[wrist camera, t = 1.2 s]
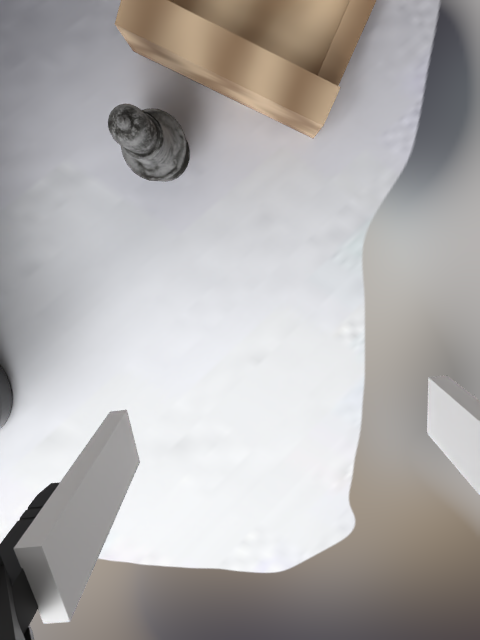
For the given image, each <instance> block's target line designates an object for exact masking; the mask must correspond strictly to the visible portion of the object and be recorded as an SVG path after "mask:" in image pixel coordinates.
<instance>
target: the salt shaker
mask: <svg viewBox="0 0 480 640" xmlns="http://www.w3.org/2000/svg"><path fill="white" fill-rule="evenodd" d="M108 127H109V131H110V133H111V135H112V137H113V139H114V140H115V141H116V142H117V143H118V144H120V145H121V149H122V153H123V157H124V159H125V161H126V163H127V165H128V166H129V167H130V168H131V170H132V171H133V172H134V173H136V174H137V175H139V176H140V177H142V178H144V179H147V180H151V181H165V182H166V181H171V180H174V179H176V178H178V177H179V176H180V175H181V174H182V173H183V172H184V171H185V169H186V167H187V165H188V161H189V147H188V143H187V141H186V139H185V135H184V133H183V130H182V128H181V126H180V125H179V123H178V122H177V121H176V120H175V119H174V118H173V117H172V116H171V115H169V114H168V113H167V112H164V111H162V110H159V109H145V110H140V109H139V108H138V107H136V106H134V105H131V104H122V105H119V106H117V107H115V108H114V109H113V110H112V111H111V113H110V115H109V119H108Z"/></svg>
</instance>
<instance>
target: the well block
mask: <svg viewBox="0 0 480 640" xmlns="http://www.w3.org/2000/svg"><path fill="white" fill-rule="evenodd" d="M375 2H376V0H121V3H120V6H119V10H118V14H117V18H116V21H115V25H116V27H117V28H118V29H119V31H120V32H121V34H122V35H123V37H124V38H125V40H126V41H127V43H128V44H129V45H130V47H131V48H132V50H133V51H134V52H136V53H138V54H140V55H142V56H144V57H146V58H148V59H150V60H152V61H154V62H157V63H159V64H161V65H163V66H165V67H167V68H169V69H171V70H173V71H175V72H177V73H179V74H181V75H183V76H185V77H188V78H190V79H192V80H194V81H196V82H198V83H200V84H202V85H204V86H206V87H208V88H210V89H212V90H214V91H216V92H218V93H221V94H223V95H225V96H227V97H229V98H231V99H233V100H235V101H237V102H239V103H241V104H243V105H245V106H247V107H249V108H251V109H254V110H256V111H258V112H260V113H262V114H264V115H266V116H268V117H270V118H272V119H274V120H276V121H278V122H280V123H282V124H284V125H287V126H289V127H291V128H293V129H295V130H297V131H299V132H301V133H303V134H305V135H307V136H309V137H311V138H314V137H315V136H316V134H317V133H318V132H319V131H320V129H321V128H322V127H323V125H324V123H325V121H326V119H327V116H328V114H329V112H330V110H331V107H332V105H333V103H334V101H335V99H336V96H337V94H338V92H339V90H340V87H339V86H338V85H339V83H340V81H341V78H342V76H343V74H344V72H345V69H346V67H347V65H348V63H349V60H350V58H351V56H352V54H353V51H354V49H355V47H356V45H357V43H358V40H359V38H360V36H361V34H362V31H363V29H364V27H365V25H366V22H367V20H368V18H369V16H370V13H371V11H372V9H373V7H374V5H375Z"/></svg>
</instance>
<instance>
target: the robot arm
mask: <svg viewBox="0 0 480 640" xmlns="http://www.w3.org/2000/svg"><path fill="white" fill-rule="evenodd" d="M11 407H12V392H11V387H10V384H9V381H8V378H7V376H6V374H5V372H4V370H3V369H2V367H1V366H0V429H1V428H2V427H3V425H4V424H5V423H6V421H7V419H8V417H9V415H10V412H11ZM427 419H428V420H427V434H428V435H429V436H430V437H431V438H432V440H433V441H434V442H435V443H436V444H437V445H438V447H439V448H440V449H441V450H442V451H443V453H444V454H445V455H446V456H447V457H448V458H449V460H450V461H451V462H452V463H453V464H454V466H455V467H456V468H457V469H458V470H459V471H460V472H461V474H462V475H463V476H464V477H465V479H466V480H467V481H468V482H469V483H470V485H471V486H472V487H473V488H474V489H475V490H476V492H477V493H478V494H479V495H480V401H479V400H478V399H477V398H476V397H474V396H473V395H472V394H470V393H469V392H468V391H466V390H465V389H464V388H462V387H461V386H460V385H459V384H458V383H456V382H455V381H454V380H452V379H451V378H450V377H448V376H447V375H445V376H436V377H429V378H428V418H427ZM139 463H140V461H139V457H138V453H137V449H136V444H135V440H134V436H133V432H132V428H131V424H130V420H129V416H128V412H127V410H121V411H112V412H110V413H109V414H108V415H107V417H106V418H105V420H104V421H103V422H102V424H101V425H100V427H99V428H98V430H97V431H96V432H95V434H94V435H93V437H92V438H91V439H90V441H89V442H88V444H87V445H86V447H85V448H84V449H83V451H82V452H81V454H80V455H79V456H78V458H77V459H76V461H75V462H74V464H73V465H72V466H71V468H70V469H69V471H68V472H67V473H66V475H65V476H64V478H63V479H62V481H61V482H60V483H51V484H50V485H49V486H48V487H46V488H45V489H44V490H43V491H42V492H40V493H39V494H38V495H37V496H36V497H35V499H34V500H33V501H32V503H31V504H30V505H29V507H28V510H26V511H25V512H24V513H23V515H22V516H21V517H20V520H19V521H17V523H16V524H15V525H14V527H13V528H12V529H11V530H10V532H9V533H8V534H7V536H6V537H5V538H4V540H3V541H2V542H1V544H0V640H34V637H33V632H32V630H31V627H30V625H29V624H30V622H31V620H32V619H33V617H34V615H35V613H36V611H37V609H38V610H39V613H40V615H41V618H42V621H43V623H44V624H46V623H60V622H70V621H71V618H72V616H73V614H74V611H75V609H76V607H77V604H78V602H79V600H80V598H81V595H82V593H83V591H84V589H85V586H86V584H87V582H88V579H89V577H90V575H91V572H92V570H93V568H94V566H95V563H96V561H97V559H98V557H99V554H100V552H101V550H102V547H103V545H104V543H105V541H106V538H107V536H108V534H109V531H110V529H111V527H112V525H113V522H114V520H115V518H116V515H117V513H118V511H119V509H120V506H121V504H122V502H123V499H124V497H125V495H126V493H127V490H128V488H129V486H130V483H131V481H132V479H133V477H134V474H135V472H136V470H137V467H138V465H139Z"/></svg>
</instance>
